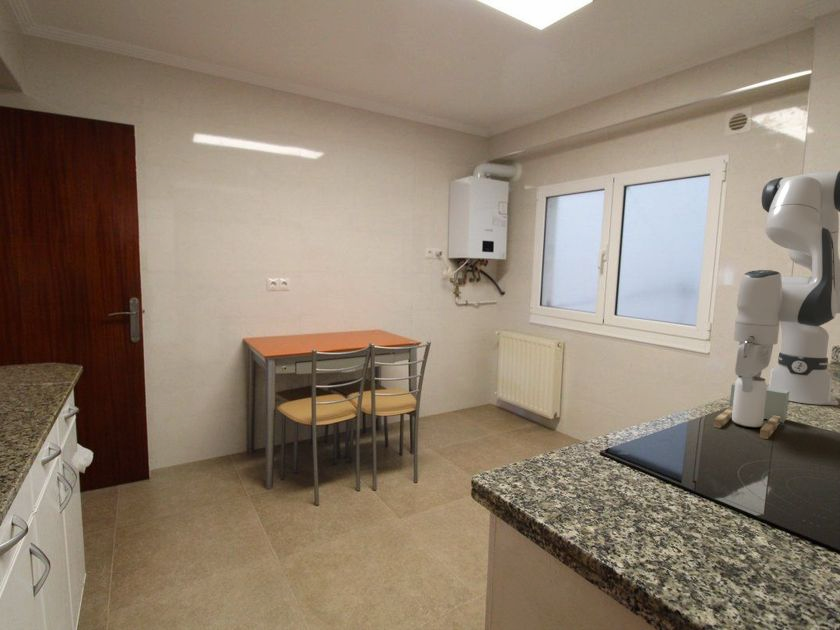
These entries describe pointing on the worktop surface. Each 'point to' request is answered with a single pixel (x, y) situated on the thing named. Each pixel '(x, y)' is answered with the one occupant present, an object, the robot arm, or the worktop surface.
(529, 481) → the worktop surface
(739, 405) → the can
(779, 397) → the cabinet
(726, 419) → the rails
